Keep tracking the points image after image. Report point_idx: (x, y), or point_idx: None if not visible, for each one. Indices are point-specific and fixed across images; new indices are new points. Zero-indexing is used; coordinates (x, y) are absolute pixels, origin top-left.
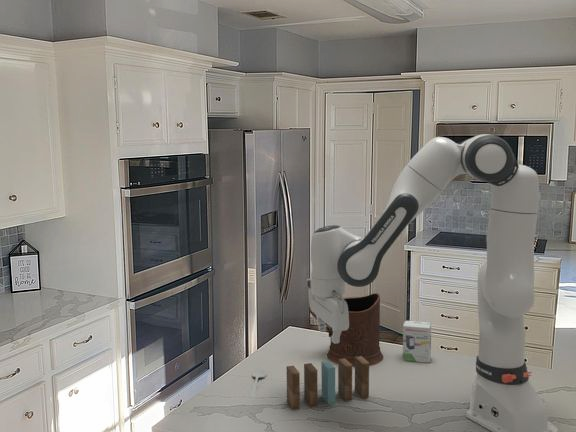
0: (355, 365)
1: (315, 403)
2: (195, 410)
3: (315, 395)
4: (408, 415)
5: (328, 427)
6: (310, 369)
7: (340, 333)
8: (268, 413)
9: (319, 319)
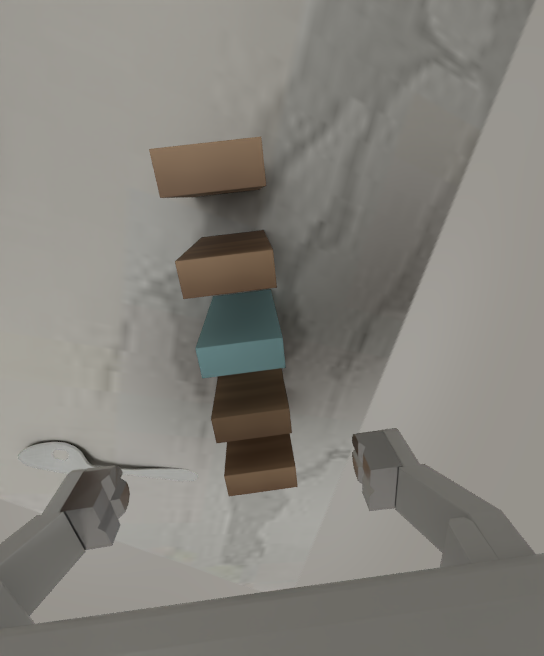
0: (179, 196)
1: None
2: (240, 560)
3: None
4: (426, 53)
5: (396, 339)
6: (276, 430)
7: (467, 493)
8: None
9: (27, 599)
